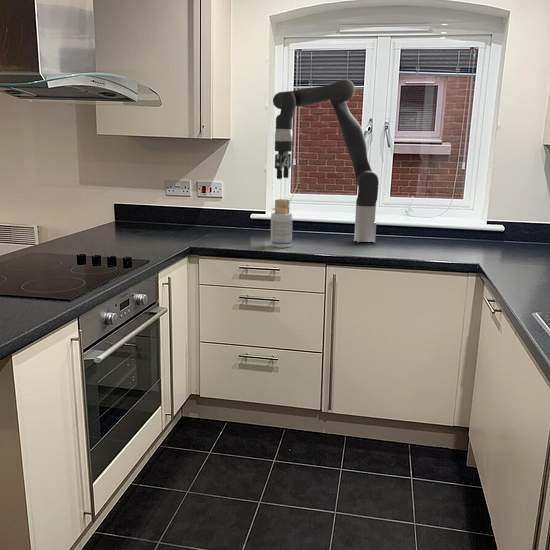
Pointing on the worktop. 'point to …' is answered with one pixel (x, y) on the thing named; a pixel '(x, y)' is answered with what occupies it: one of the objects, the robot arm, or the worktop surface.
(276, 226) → the supplement tub
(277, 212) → the oak block
